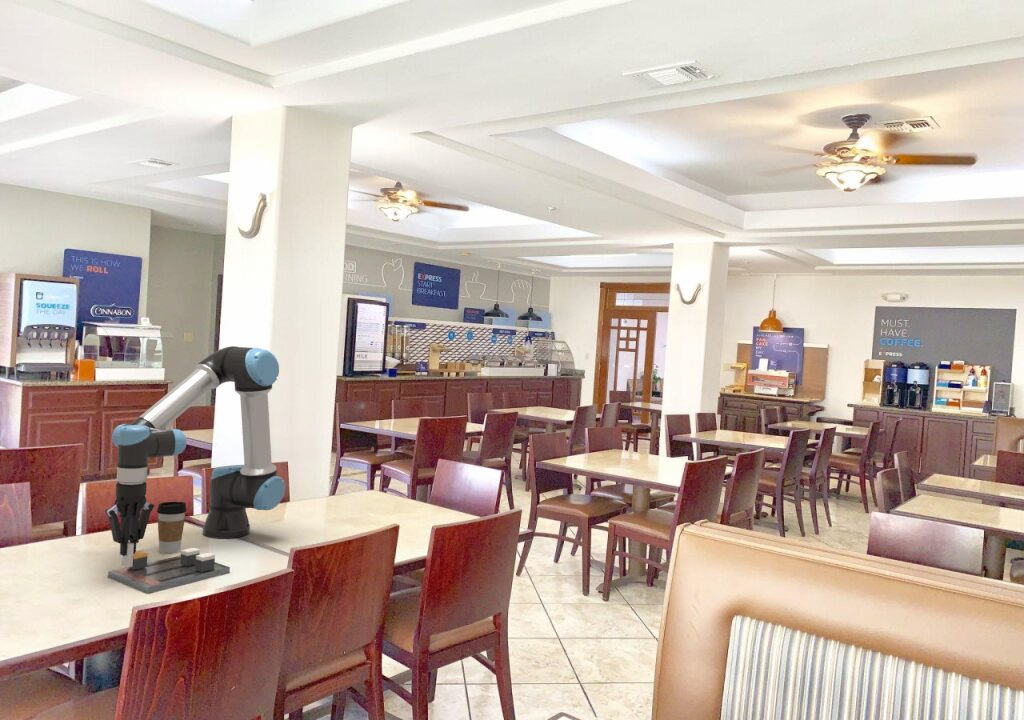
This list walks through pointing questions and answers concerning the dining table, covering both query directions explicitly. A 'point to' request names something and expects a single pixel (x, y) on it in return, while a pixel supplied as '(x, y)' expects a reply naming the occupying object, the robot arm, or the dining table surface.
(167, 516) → the coffee cup
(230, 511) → the robot arm
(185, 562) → the block
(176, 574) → the panel
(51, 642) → the dining table surface
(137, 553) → the block
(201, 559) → the block
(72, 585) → the dining table surface
